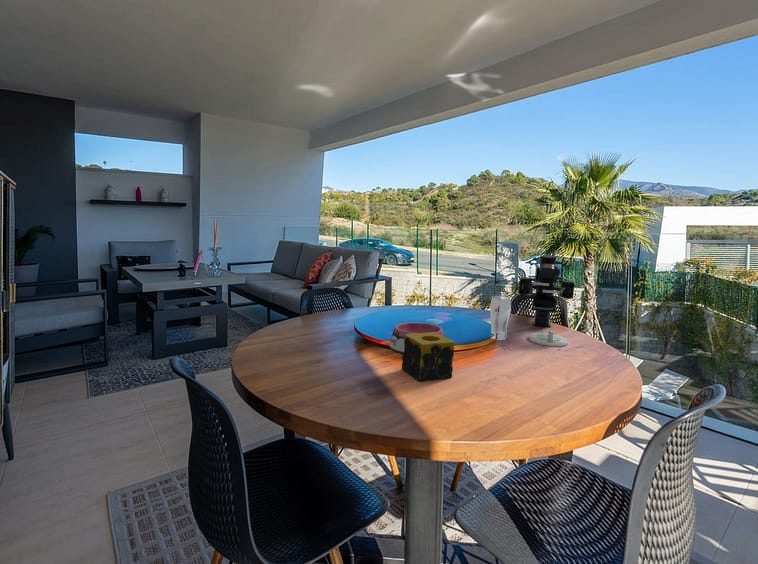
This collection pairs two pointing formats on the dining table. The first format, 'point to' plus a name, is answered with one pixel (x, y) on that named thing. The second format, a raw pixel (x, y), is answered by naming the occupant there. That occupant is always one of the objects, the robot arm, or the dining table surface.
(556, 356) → the dining table surface
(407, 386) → the dining table surface
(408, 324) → the dog bowl
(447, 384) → the dining table surface
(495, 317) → the beer glass
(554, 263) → the robot arm
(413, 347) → the candle
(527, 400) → the dining table surface
